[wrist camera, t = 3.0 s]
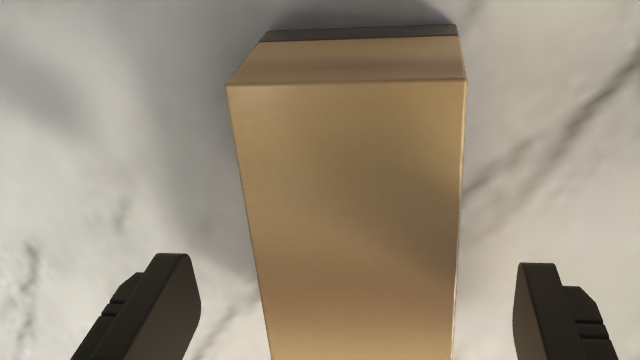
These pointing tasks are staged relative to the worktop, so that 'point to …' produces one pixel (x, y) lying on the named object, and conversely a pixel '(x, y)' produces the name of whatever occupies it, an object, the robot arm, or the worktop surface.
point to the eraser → (353, 188)
